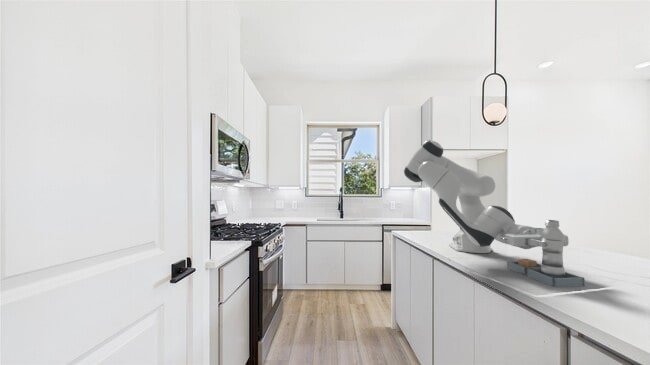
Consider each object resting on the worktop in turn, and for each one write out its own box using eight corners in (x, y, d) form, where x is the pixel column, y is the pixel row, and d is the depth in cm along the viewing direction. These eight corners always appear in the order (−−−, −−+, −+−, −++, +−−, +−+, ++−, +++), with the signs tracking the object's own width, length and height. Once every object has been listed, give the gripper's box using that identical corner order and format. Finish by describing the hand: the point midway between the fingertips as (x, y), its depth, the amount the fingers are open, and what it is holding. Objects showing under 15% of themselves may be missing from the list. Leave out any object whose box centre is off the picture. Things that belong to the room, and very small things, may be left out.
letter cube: (518, 269, 107) (518, 259, 107) (527, 268, 108) (526, 258, 108) (528, 272, 103) (527, 261, 103) (536, 271, 104) (536, 261, 104)
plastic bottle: (555, 276, 97) (555, 219, 97) (570, 283, 90) (569, 222, 90) (535, 275, 98) (535, 219, 98) (549, 282, 91) (548, 221, 91)
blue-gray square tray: (507, 269, 110) (507, 261, 110) (529, 268, 110) (529, 260, 110) (525, 276, 101) (525, 267, 101) (549, 275, 101) (549, 267, 101)
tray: (526, 277, 99) (526, 268, 99) (554, 276, 100) (553, 268, 100) (553, 288, 88) (553, 278, 88) (584, 287, 88) (584, 277, 89)
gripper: (497, 229, 107) (524, 235, 93) (548, 228, 108) (582, 234, 94) (497, 245, 107) (524, 254, 93) (548, 244, 108) (583, 252, 94)
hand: (554, 244), depth 93 cm, fingers closed on plastic bottle, 6 cm apart
